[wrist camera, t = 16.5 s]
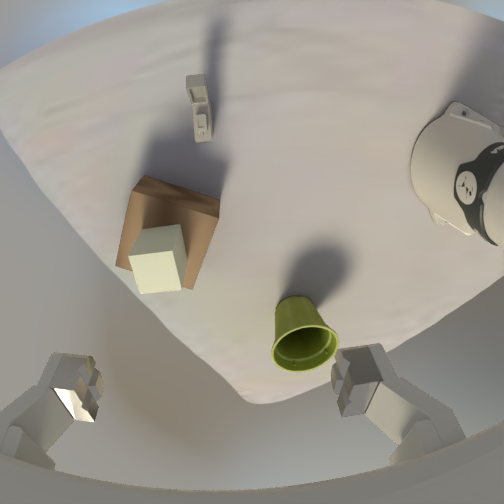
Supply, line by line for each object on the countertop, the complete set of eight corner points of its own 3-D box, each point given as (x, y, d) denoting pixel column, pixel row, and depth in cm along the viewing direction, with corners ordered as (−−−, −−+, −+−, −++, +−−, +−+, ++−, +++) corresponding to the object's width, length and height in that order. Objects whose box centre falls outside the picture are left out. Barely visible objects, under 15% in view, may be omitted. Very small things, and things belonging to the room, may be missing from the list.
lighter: (213, 135, 36) (209, 147, 29) (198, 136, 36) (191, 149, 29) (209, 76, 32) (204, 73, 25) (193, 78, 32) (184, 75, 25)
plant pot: (334, 309, 50) (351, 347, 42) (289, 341, 52) (298, 380, 45) (300, 274, 46) (314, 313, 39) (251, 311, 49) (256, 352, 41)
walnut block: (220, 199, 40) (219, 218, 35) (196, 264, 44) (192, 289, 39) (144, 175, 38) (131, 190, 32) (127, 242, 42) (115, 265, 37)
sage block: (180, 224, 35) (172, 250, 29) (187, 259, 37) (182, 289, 32) (141, 229, 35) (128, 256, 29) (150, 263, 37) (140, 293, 32)
